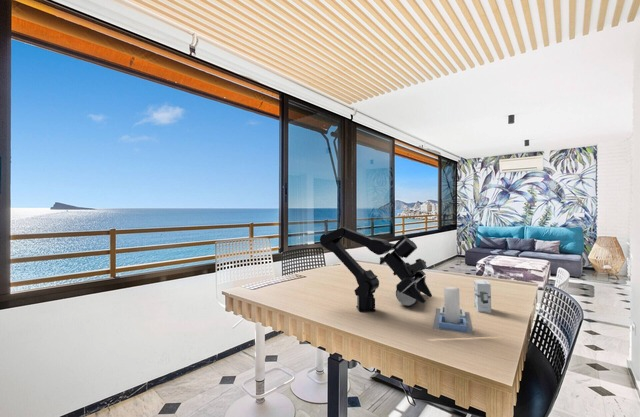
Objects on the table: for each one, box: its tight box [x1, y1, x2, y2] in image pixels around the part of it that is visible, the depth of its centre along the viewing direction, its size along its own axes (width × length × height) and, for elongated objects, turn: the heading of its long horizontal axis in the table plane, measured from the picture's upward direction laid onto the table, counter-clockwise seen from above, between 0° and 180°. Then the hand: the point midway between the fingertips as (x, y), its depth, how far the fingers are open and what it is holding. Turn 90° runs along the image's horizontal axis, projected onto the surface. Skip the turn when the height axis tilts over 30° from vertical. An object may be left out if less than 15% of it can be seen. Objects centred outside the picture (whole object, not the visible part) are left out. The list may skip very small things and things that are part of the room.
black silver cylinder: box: [395, 289, 422, 307], centre depth 131 cm, size 10×28×10 cm, turn 156°
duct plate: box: [432, 306, 474, 335], centre depth 104 cm, size 24×12×2 cm, turn 155°
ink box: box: [473, 279, 492, 314], centre depth 116 cm, size 9×5×12 cm, turn 160°
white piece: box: [443, 286, 461, 325], centre depth 99 cm, size 5×5×12 cm
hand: (428, 299), depth 104 cm, fingers open, 9 cm apart
